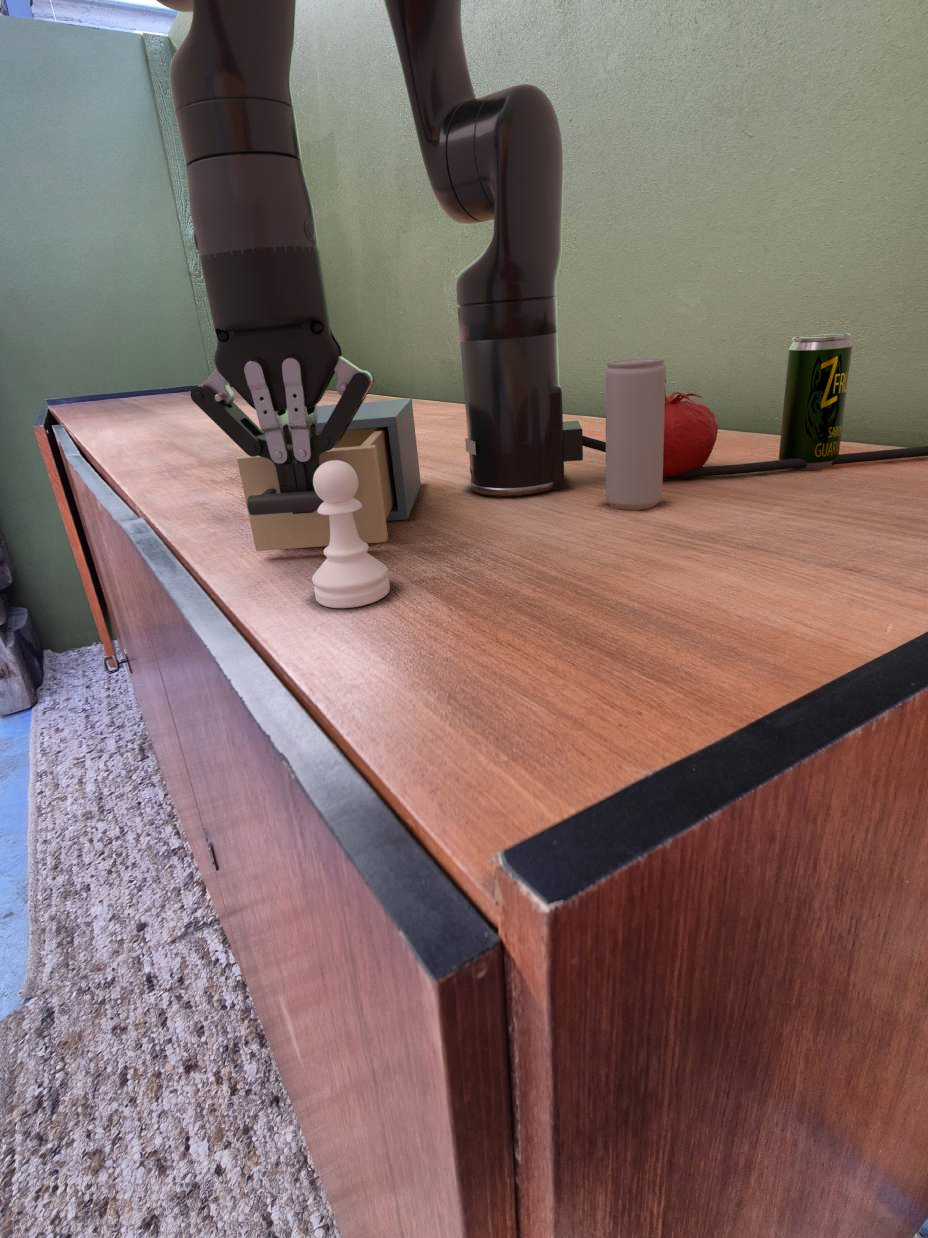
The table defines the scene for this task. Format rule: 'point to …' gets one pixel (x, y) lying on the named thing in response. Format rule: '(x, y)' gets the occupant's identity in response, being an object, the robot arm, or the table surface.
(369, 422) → the cabinet
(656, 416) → the beverage can
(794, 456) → the green soda can
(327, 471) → the chess pawn
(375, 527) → the drawer
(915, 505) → the table surface
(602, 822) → the table surface
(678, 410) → the red round piece
